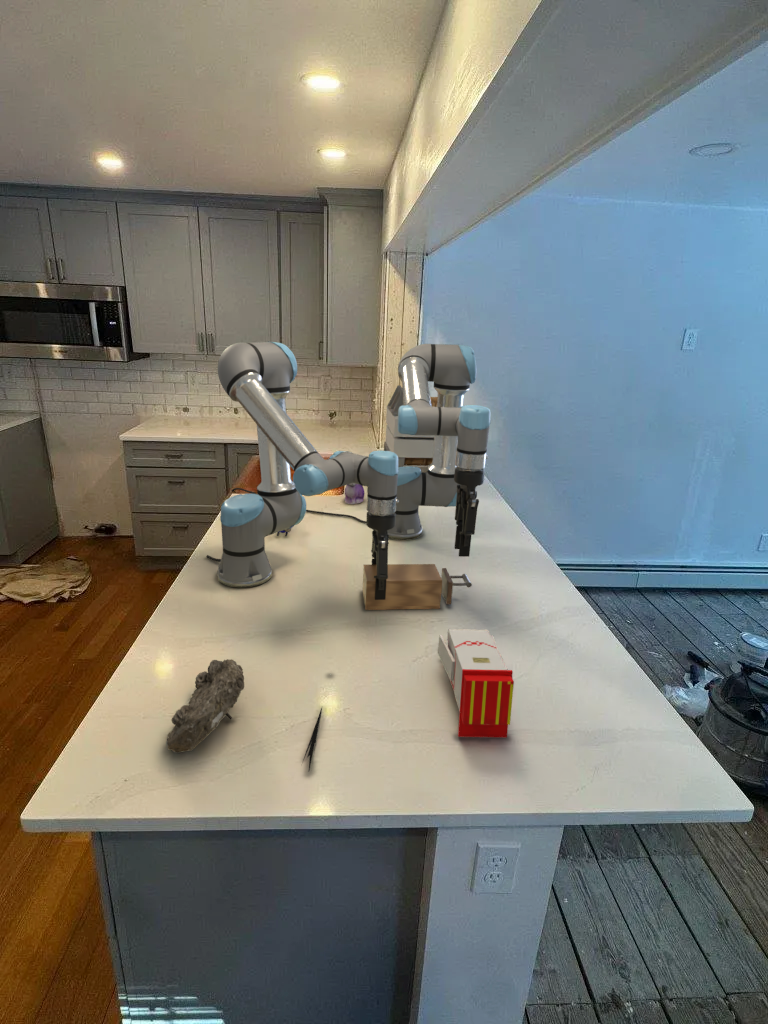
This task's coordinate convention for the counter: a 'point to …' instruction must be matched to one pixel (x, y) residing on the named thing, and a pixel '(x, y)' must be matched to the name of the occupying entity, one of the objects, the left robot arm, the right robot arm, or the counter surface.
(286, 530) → the figurine character
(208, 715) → the fossil
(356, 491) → the figurine
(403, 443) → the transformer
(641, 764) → the counter surface
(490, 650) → the toy
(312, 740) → the feather
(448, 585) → the drawer
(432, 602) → the cabinet
